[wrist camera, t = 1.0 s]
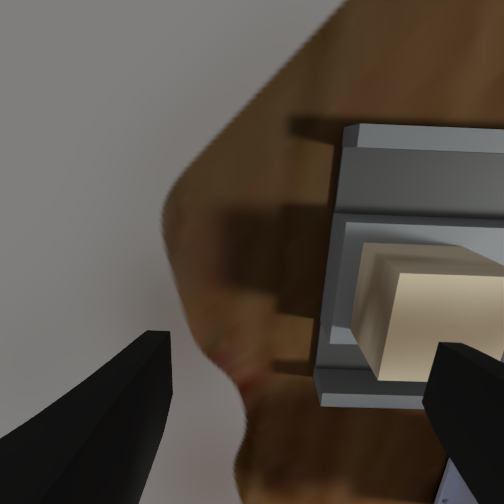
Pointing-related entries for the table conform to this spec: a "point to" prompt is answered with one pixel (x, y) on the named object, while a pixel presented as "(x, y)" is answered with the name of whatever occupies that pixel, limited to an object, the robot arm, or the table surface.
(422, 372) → the maple block
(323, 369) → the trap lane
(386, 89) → the table surface
